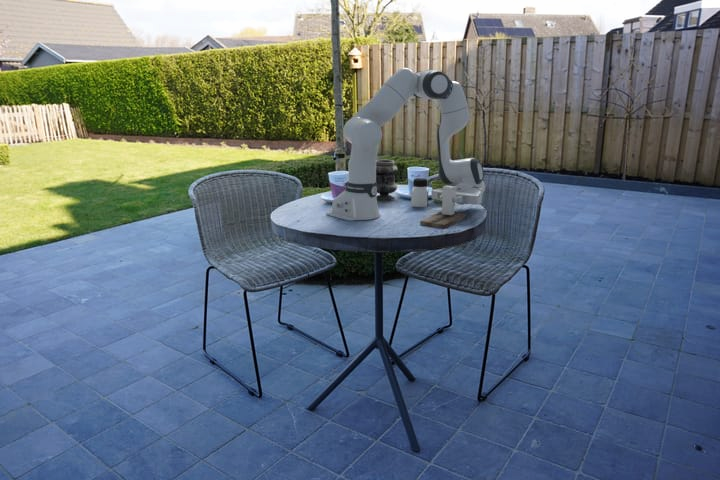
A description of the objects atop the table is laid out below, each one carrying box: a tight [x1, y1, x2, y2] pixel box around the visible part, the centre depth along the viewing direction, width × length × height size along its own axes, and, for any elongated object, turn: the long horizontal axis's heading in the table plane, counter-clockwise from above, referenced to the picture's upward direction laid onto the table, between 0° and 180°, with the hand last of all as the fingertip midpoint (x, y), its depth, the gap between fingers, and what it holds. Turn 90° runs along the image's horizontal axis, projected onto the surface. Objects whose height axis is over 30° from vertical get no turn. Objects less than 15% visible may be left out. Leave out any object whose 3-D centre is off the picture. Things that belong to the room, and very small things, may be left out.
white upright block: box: [441, 185, 456, 215], centre depth 196 cm, size 4×3×11 cm
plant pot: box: [430, 180, 452, 204], centre depth 227 cm, size 9×9×9 cm
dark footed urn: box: [376, 159, 398, 202], centre depth 231 cm, size 12×12×18 cm
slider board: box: [419, 211, 466, 230], centre depth 195 cm, size 10×19×2 cm, turn 145°
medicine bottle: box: [410, 177, 429, 208], centre depth 220 cm, size 7×7×12 cm
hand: (447, 199), depth 195 cm, fingers closed on white upright block, 4 cm apart
